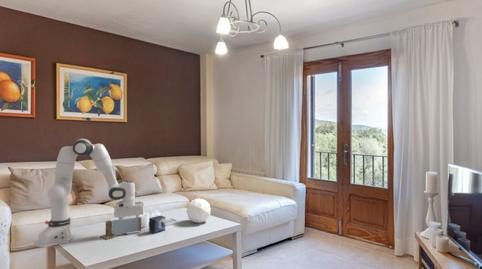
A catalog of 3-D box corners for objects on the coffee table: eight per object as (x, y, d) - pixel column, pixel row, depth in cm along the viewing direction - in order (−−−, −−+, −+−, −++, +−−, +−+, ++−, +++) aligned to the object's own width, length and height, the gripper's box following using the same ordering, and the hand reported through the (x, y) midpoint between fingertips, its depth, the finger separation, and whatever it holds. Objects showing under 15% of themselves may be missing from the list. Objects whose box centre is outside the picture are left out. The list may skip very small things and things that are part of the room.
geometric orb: (203, 231, 267) (207, 215, 256) (180, 221, 270) (184, 205, 258) (212, 215, 282) (216, 199, 271) (191, 205, 285) (194, 189, 273)
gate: (112, 234, 233) (112, 221, 232) (112, 233, 235) (112, 220, 234) (141, 230, 243) (141, 217, 242) (140, 229, 245) (140, 216, 244)
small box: (154, 234, 239) (154, 219, 239) (148, 232, 243) (148, 218, 243) (165, 230, 248) (165, 216, 248) (160, 228, 252) (160, 215, 252)
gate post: (107, 239, 227) (107, 223, 227) (100, 237, 231) (100, 221, 231) (117, 236, 234) (117, 221, 233) (110, 234, 238) (110, 219, 238)
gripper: (142, 200, 249) (142, 218, 249) (113, 203, 238) (113, 222, 239) (144, 202, 243) (144, 220, 244) (115, 205, 233) (115, 225, 233)
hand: (128, 221), depth 241 cm, fingers closed on gate, 8 cm apart
